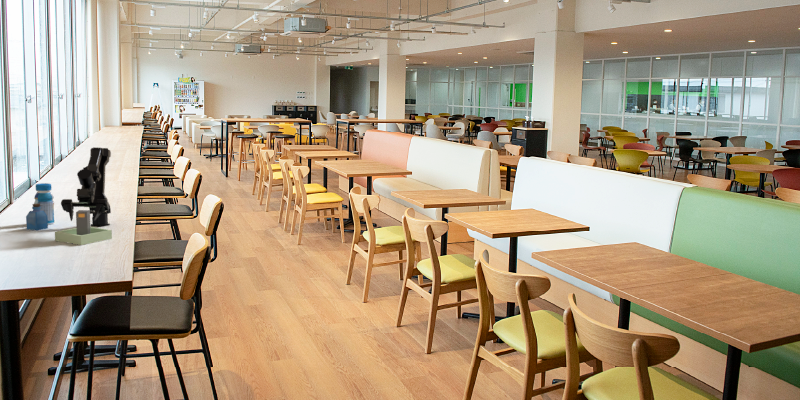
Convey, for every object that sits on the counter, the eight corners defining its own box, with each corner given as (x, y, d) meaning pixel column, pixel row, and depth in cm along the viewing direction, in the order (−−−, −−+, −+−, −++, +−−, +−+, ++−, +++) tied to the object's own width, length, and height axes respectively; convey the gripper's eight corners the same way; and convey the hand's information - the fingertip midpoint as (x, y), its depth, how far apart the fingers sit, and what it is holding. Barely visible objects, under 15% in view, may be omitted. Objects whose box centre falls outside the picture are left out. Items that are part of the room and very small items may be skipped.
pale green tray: (86, 234, 279) (86, 226, 278) (111, 238, 273) (111, 230, 272) (55, 240, 264) (54, 231, 263) (81, 245, 258) (80, 236, 257)
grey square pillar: (79, 236, 270) (78, 210, 268) (90, 236, 271) (89, 210, 269) (76, 238, 265) (75, 212, 263) (87, 238, 266) (87, 212, 264)
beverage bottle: (45, 225, 294) (44, 185, 291) (31, 224, 296) (29, 184, 293) (58, 222, 302) (57, 183, 299) (44, 221, 304) (42, 182, 301)
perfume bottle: (47, 228, 289) (46, 203, 287) (36, 230, 283) (35, 205, 281) (38, 227, 291) (37, 202, 289) (26, 229, 285) (25, 204, 283)
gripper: (61, 181, 266) (55, 209, 257) (107, 181, 271) (102, 209, 262) (66, 196, 275) (60, 224, 266) (110, 196, 280) (106, 224, 271)
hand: (82, 220), depth 266 cm, fingers open, 9 cm apart
